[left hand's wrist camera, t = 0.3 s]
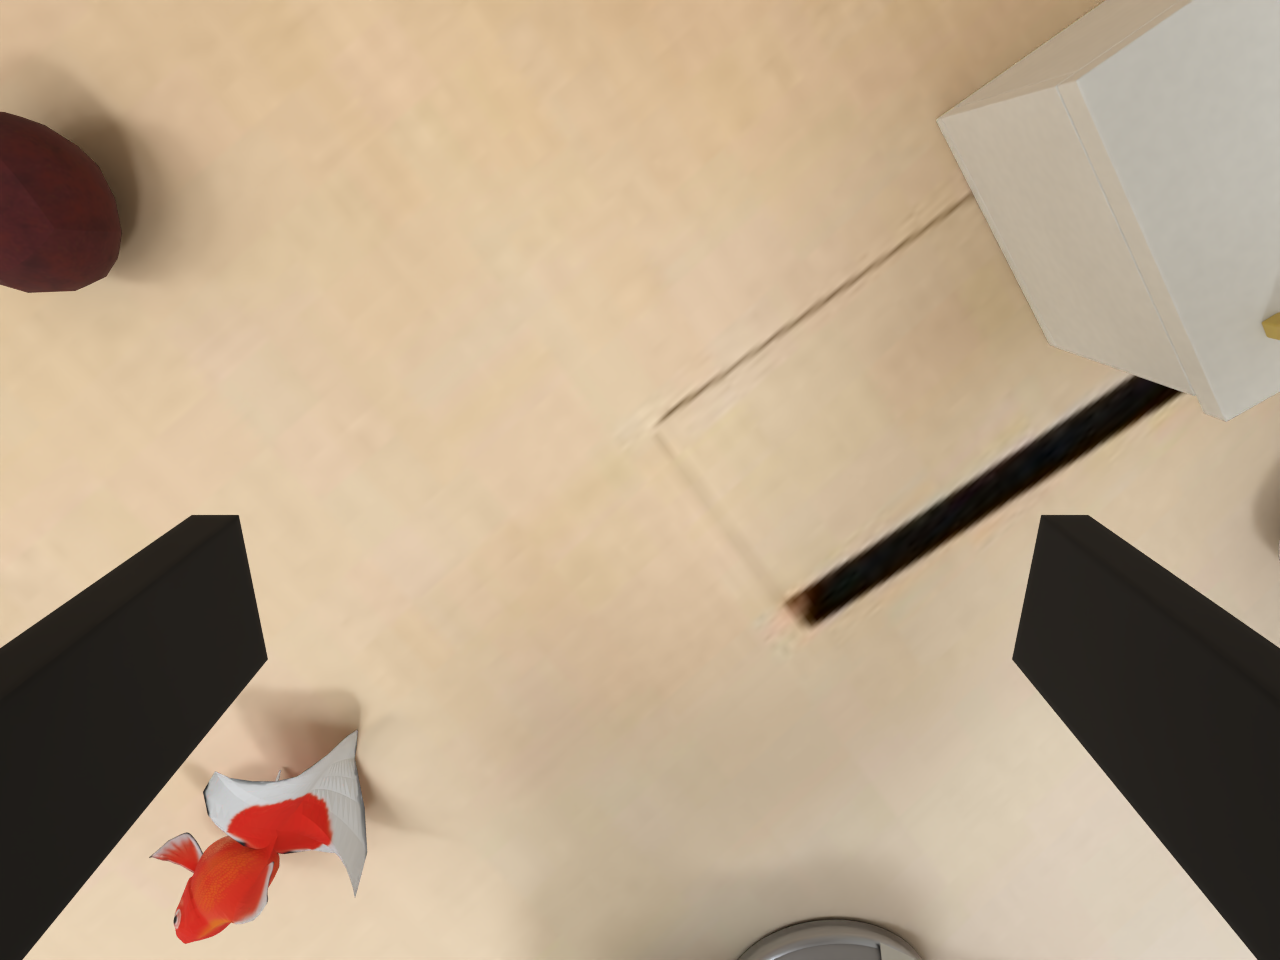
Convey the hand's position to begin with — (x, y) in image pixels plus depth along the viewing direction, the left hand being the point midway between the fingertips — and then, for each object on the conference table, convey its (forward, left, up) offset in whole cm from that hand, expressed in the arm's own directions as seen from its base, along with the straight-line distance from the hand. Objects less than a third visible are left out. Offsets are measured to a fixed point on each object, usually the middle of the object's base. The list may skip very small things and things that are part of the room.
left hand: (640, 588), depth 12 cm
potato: (+6, +27, -28) cm, 40 cm away
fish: (-29, +23, -28) cm, 47 cm away
